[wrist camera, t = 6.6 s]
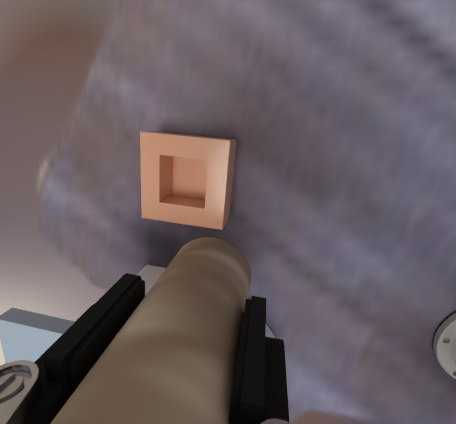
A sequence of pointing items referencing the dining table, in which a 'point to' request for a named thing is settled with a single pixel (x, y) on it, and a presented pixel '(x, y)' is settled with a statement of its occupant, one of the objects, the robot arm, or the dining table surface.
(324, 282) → the dining table surface
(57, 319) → the lidded rectangular box
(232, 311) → the peg
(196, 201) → the socket
